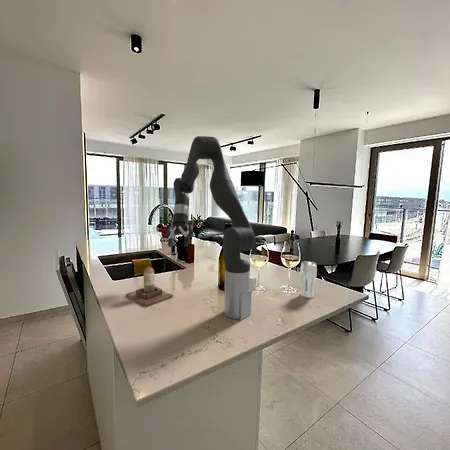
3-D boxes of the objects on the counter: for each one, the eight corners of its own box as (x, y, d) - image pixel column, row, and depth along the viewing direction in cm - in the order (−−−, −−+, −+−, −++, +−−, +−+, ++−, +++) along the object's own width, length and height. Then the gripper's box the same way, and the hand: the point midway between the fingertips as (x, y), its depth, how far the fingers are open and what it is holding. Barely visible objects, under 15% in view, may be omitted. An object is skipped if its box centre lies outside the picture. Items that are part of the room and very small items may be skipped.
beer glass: (314, 293, 119) (316, 261, 117) (315, 299, 112) (317, 266, 110) (298, 291, 121) (300, 260, 119) (298, 297, 114) (300, 264, 112)
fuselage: (156, 294, 113) (156, 267, 111) (147, 297, 110) (147, 269, 108) (150, 291, 116) (150, 265, 114) (142, 294, 112) (141, 267, 111)
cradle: (172, 297, 112) (172, 290, 112) (146, 307, 103) (146, 299, 102) (151, 288, 123) (151, 281, 122) (125, 296, 113) (125, 289, 113)
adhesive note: (255, 290, 122) (256, 278, 122) (244, 291, 120) (244, 279, 119) (250, 285, 128) (250, 274, 127) (239, 287, 126) (239, 275, 125)
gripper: (164, 214, 128) (160, 245, 123) (189, 210, 123) (186, 243, 117) (173, 219, 135) (169, 249, 129) (197, 216, 129) (194, 247, 124)
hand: (177, 246), depth 123 cm, fingers open, 8 cm apart
